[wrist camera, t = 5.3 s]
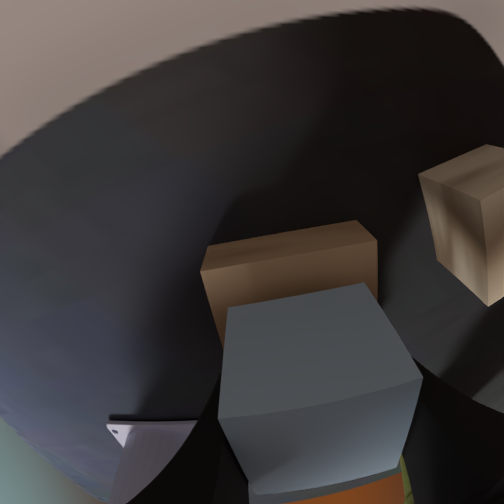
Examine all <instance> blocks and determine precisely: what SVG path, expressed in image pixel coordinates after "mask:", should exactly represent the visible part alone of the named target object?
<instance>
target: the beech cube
mask: <svg viewBox="0 0 504 504" xmlns="http://www.w3.org/2000/svg"><path fill="white" fill-rule="evenodd" d="M418 177H419V181H420V184H421V188H422V192H423V196H424V200H425V204H426V208H427V212H428V216H429V221H430V225H431V230H432V235H433V240H434V245H435V250H436V256H437V260H438V261H439V262H440V263H441V264H442V265H443V266H445V267H446V268H447V269H448V270H449V271H450V272H451V273H452V274H454V275H455V276H456V277H457V278H458V279H459V280H460V281H461V282H462V283H464V284H465V285H466V286H467V287H468V288H469V289H470V290H471V291H472V292H473V293H474V294H475V295H476V296H477V297H478V298H480V299H481V300H482V301H483V302H484V303H485V304H486V305H487V306H488V307H489V306H490V305H492V304H493V303H495V302H496V301H498V300H499V299H501V298H502V297H504V148H501V147H496V146H492V145H487V144H486V145H483V146H481V147H479V148H476V149H474V150H472V151H470V152H467V153H465V154H463V155H460V156H458V157H456V158H454V159H451V160H449V161H447V162H444V163H442V164H440V165H438V166H435V167H433V168H431V169H428V170H426V171H424V172H422V173H419V174H418Z"/></svg>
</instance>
